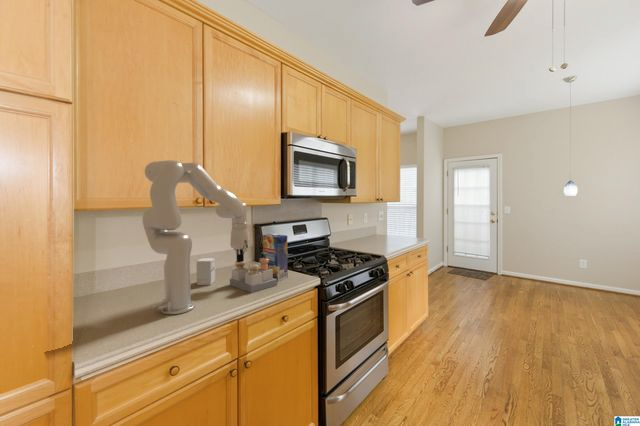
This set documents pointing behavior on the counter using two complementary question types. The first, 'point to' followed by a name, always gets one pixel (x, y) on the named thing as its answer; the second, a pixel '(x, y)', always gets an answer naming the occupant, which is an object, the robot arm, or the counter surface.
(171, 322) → the counter surface
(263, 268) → the terracotta plug
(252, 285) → the board
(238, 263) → the beech plug far
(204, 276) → the supplement box
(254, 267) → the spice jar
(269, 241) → the juice carton
